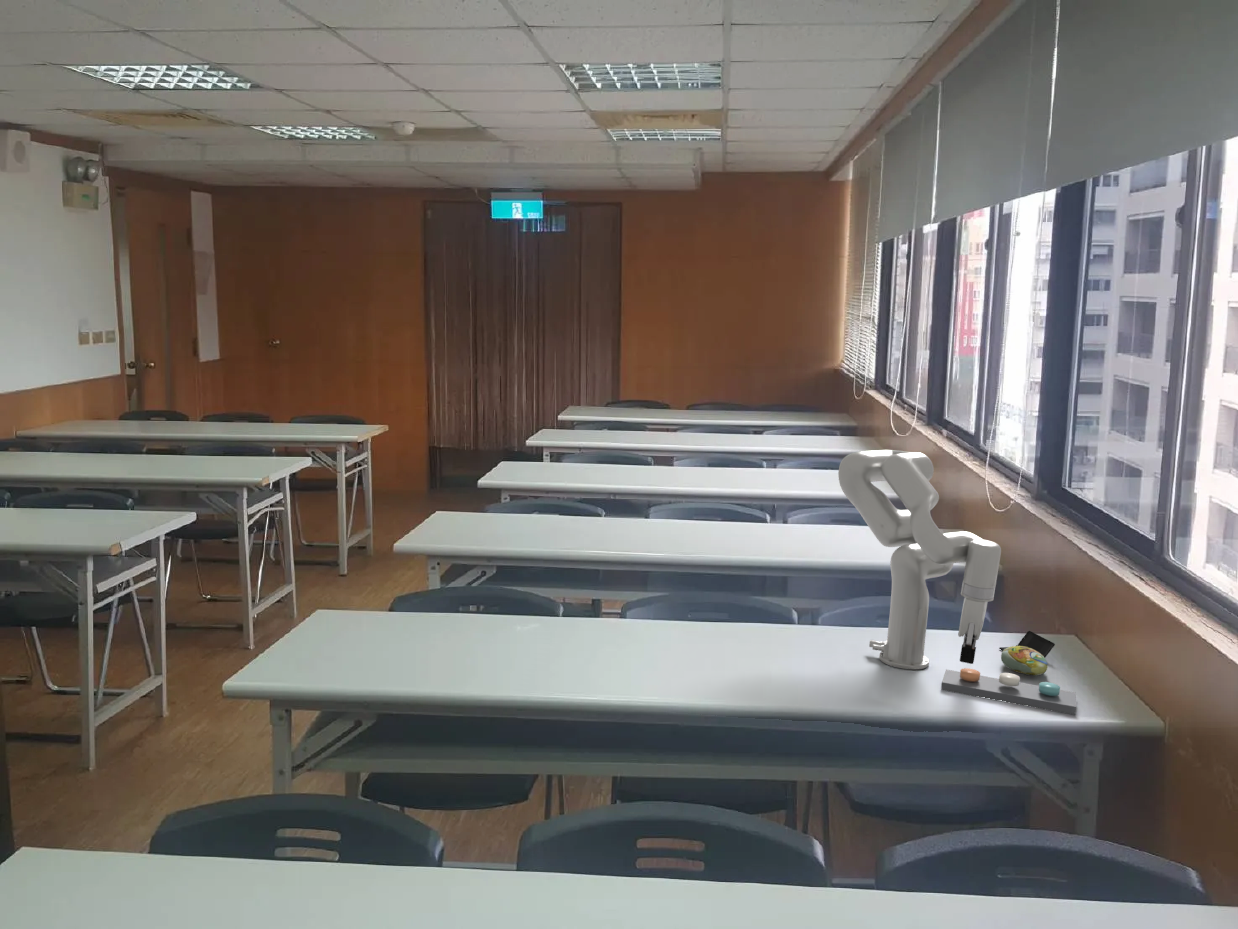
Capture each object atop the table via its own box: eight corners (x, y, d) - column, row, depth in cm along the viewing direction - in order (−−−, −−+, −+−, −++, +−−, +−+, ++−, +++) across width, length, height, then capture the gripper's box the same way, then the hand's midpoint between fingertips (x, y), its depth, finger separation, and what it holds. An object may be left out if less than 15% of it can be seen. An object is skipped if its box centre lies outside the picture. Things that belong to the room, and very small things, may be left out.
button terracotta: (958, 679, 247) (959, 672, 247) (960, 673, 251) (961, 667, 251) (978, 682, 245) (979, 676, 245) (980, 676, 249) (980, 670, 249)
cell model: (1040, 652, 269) (1057, 650, 255) (1033, 681, 268) (1049, 680, 254) (999, 639, 271) (1014, 637, 257) (992, 667, 270) (1006, 667, 256)
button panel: (941, 690, 246) (941, 682, 246) (945, 676, 255) (946, 669, 255) (1075, 715, 235) (1076, 707, 234) (1074, 700, 244) (1075, 692, 244)
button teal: (1038, 693, 240) (1039, 687, 240) (1038, 687, 244) (1039, 680, 244) (1059, 697, 238) (1060, 690, 238) (1059, 690, 242) (1060, 684, 242)
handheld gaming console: (993, 645, 277) (1017, 617, 277) (1006, 658, 281) (1029, 630, 281) (1024, 665, 267) (1048, 636, 267) (1037, 678, 271) (1061, 649, 271)
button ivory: (998, 684, 243) (999, 677, 243) (999, 677, 248) (1000, 671, 247) (1018, 687, 242) (1019, 681, 241) (1019, 681, 246) (1020, 675, 246)
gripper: (964, 579, 253) (953, 648, 257) (958, 596, 240) (947, 668, 243) (996, 585, 250) (984, 655, 254) (992, 602, 237) (980, 676, 241)
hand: (966, 661), depth 249 cm, fingers closed
